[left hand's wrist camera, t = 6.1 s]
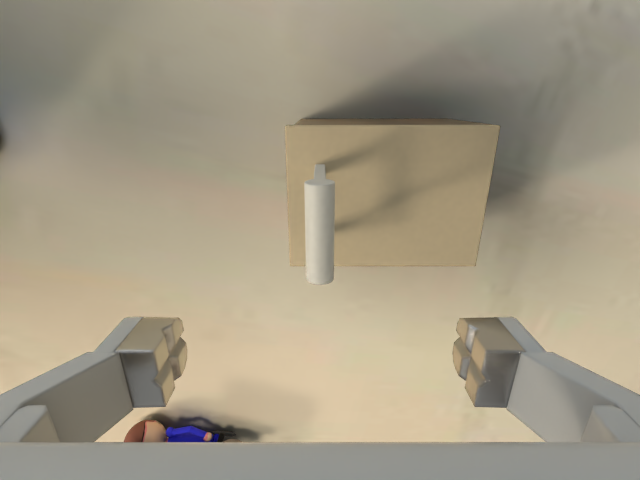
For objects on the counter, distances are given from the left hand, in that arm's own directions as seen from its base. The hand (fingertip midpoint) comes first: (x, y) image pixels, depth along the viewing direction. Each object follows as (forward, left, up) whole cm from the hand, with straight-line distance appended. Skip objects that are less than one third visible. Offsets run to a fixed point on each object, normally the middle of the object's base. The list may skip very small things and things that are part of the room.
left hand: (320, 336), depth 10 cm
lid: (+2, -4, -16) cm, 17 cm away
